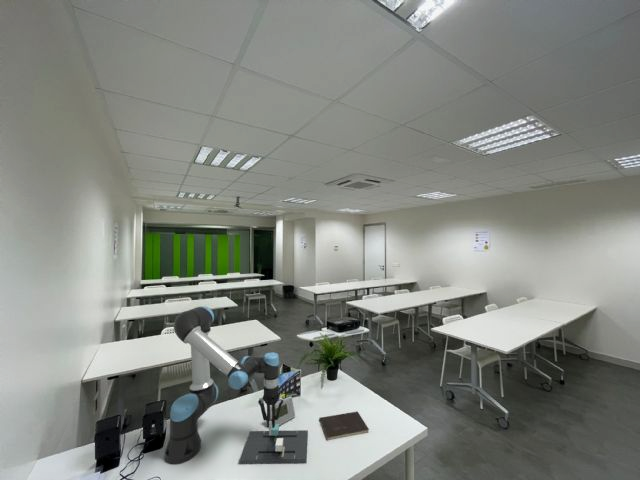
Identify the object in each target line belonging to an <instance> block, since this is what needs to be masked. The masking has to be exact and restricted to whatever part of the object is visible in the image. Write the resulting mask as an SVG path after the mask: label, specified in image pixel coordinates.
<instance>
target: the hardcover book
mask: <svg viewBox="0 0 640 480" xmlns="http://www.w3.org/2000/svg"><path fill="white" fill-rule="evenodd" d="M318 420H319V421H320V424H321V427H322V430H323V433H324V435H325V438H326V440H327V441H330V440H336V439H341V438H345V437H347V438H348V437H350V436H352V437H353V436H357V435H362V434H368V433H369V430H370V428H369V427H368V426H367V424H366V422H365V421H364V419H363V417H362V416H361V415H360V413H359V411H353V412H346V413H341V414H340V413H339V414H335V415H328V416H321V417H319V419H318Z"/></svg>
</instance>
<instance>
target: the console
mask: <svg viewBox="0 0 640 480" xmlns="http://www.w3.org/2000/svg"><path fill="white" fill-rule="evenodd" d="M308 436H309V431H308V430H306V429H304V430H303V429H302V430H300V429H299V430H279V431H278V435H276V436H274V435H269V430H250V431H249V433H248V436H247V437H246V438H247V439H246V441H245V444H244V447H243V449H242V452H241V455H240V458H239V459H238V460H239V463H238V464H239V465H277V464H280V465H284V464H287V465H289V464H296V465H297V464H307V462H308V461H307V459H308V441H309V440H308V439H309V437H308ZM277 438H283V448H282V451H281V452H278V451H275V445H276V440H277Z"/></svg>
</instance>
